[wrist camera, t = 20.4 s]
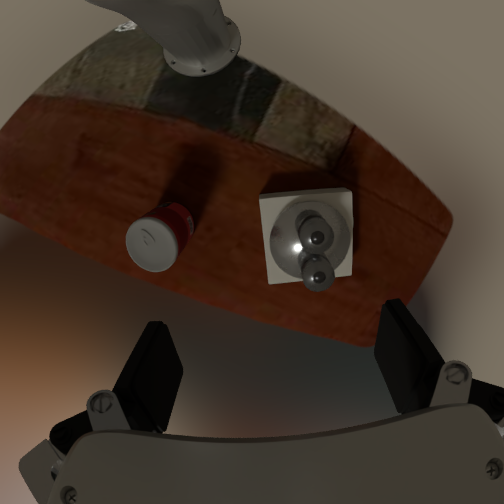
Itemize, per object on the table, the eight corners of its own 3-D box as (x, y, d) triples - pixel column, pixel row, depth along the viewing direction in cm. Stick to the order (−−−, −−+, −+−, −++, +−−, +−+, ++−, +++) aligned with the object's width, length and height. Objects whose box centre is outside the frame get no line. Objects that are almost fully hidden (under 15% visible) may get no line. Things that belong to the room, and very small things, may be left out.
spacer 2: (296, 247, 40) (302, 264, 35) (325, 244, 40) (335, 260, 34) (298, 273, 42) (304, 293, 36) (326, 270, 41) (335, 289, 36)
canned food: (169, 191, 43) (142, 206, 33) (205, 222, 45) (188, 245, 35) (145, 224, 45) (116, 246, 35) (178, 253, 47) (158, 282, 37)
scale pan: (265, 204, 39) (265, 205, 38) (348, 197, 38) (349, 198, 37) (273, 280, 43) (273, 283, 43) (348, 272, 42) (349, 274, 42)
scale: (259, 194, 43) (259, 199, 39) (346, 187, 42) (355, 191, 38) (268, 273, 48) (268, 285, 44) (346, 264, 47) (354, 275, 43)
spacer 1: (293, 210, 38) (299, 222, 32) (323, 208, 38) (334, 219, 32) (295, 239, 40) (301, 255, 34) (324, 236, 39) (334, 252, 34)
